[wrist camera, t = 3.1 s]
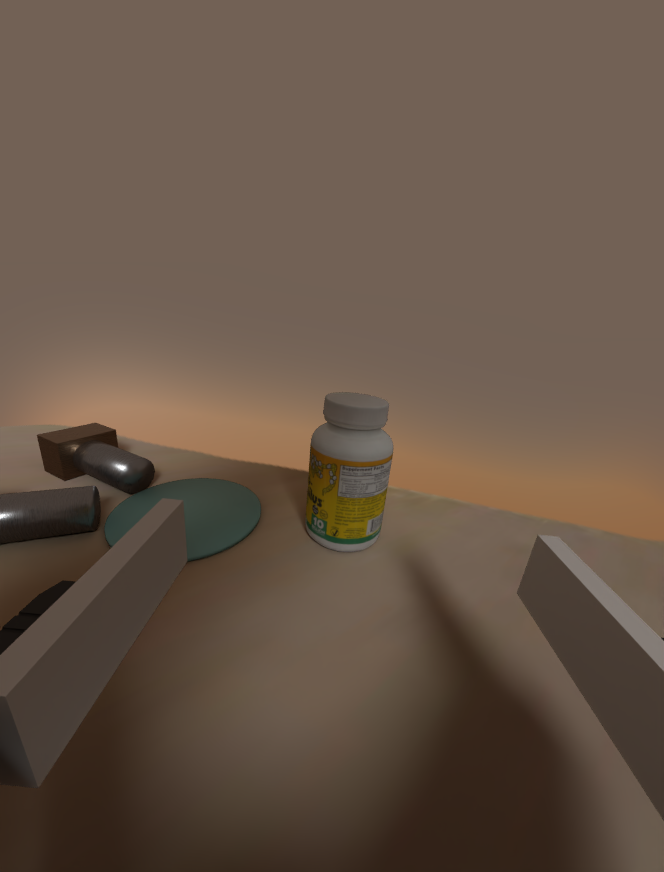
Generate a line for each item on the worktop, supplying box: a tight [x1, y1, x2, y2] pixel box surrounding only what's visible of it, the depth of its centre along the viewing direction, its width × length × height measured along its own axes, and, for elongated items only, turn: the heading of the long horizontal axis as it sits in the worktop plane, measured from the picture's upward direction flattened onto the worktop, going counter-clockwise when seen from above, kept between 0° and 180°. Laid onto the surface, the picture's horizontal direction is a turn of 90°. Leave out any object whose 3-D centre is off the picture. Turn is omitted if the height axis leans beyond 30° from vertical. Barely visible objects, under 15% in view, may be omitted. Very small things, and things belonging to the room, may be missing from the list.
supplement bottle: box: [305, 392, 393, 552], centre depth 22 cm, size 5×5×10 cm
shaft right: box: [37, 423, 155, 493], centre depth 27 cm, size 10×4×3 cm, turn 63°
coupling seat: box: [105, 478, 261, 561], centre depth 23 cm, size 10×10×1 cm
